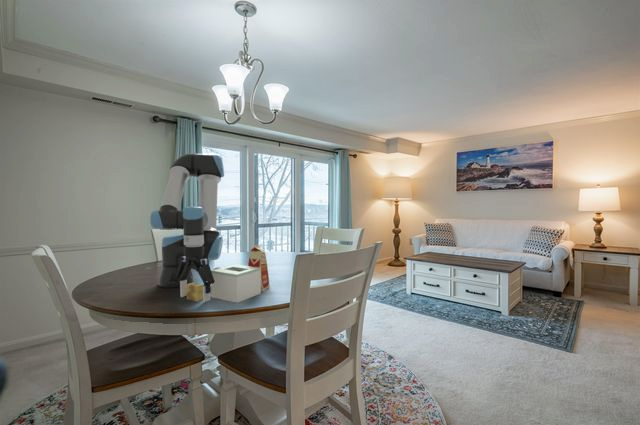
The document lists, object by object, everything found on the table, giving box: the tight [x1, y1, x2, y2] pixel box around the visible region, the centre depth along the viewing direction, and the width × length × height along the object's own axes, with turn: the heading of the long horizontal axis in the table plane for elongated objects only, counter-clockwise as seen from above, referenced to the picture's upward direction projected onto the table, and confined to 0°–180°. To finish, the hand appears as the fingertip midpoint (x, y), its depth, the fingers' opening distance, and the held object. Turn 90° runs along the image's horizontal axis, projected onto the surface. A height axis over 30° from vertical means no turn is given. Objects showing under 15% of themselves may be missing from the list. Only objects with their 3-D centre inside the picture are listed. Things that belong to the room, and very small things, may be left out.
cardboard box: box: [186, 282, 204, 302], centre depth 133 cm, size 6×3×6 cm, turn 61°
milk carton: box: [247, 244, 271, 292], centre depth 149 cm, size 9×9×20 cm
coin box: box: [210, 263, 262, 303], centre depth 138 cm, size 14×14×11 cm
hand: (194, 298), depth 133 cm, fingers open, 12 cm apart
